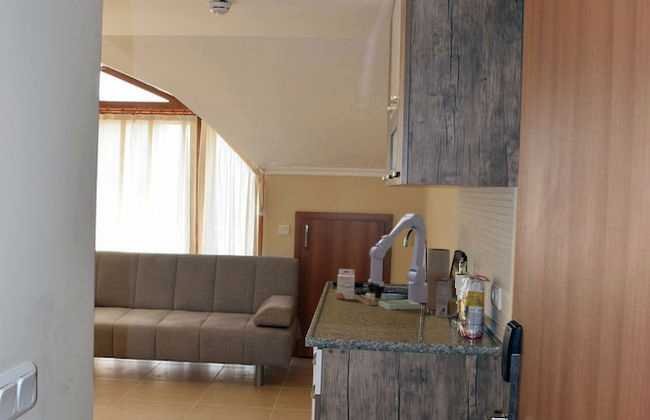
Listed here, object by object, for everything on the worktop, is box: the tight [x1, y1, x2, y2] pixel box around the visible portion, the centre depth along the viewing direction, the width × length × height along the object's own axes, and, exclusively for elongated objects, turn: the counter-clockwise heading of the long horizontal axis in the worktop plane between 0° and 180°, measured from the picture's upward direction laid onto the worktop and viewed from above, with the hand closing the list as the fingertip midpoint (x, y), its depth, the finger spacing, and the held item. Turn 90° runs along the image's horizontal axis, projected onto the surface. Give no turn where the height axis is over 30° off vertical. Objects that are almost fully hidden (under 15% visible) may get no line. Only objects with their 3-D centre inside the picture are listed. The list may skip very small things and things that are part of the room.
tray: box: [377, 299, 422, 311], centre depth 294 cm, size 16×12×2 cm
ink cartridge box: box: [336, 268, 356, 300], centre depth 316 cm, size 9×5×15 cm, turn 84°
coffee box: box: [434, 277, 457, 319], centre depth 274 cm, size 9×6×16 cm
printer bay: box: [358, 294, 389, 306], centre depth 305 cm, size 10×13×3 cm
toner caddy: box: [365, 292, 386, 299], centre depth 305 cm, size 8×5×5 cm, turn 109°
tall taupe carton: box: [425, 248, 451, 311], centre depth 292 cm, size 10×10×28 cm
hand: (375, 299), depth 305 cm, fingers closed on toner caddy, 5 cm apart
